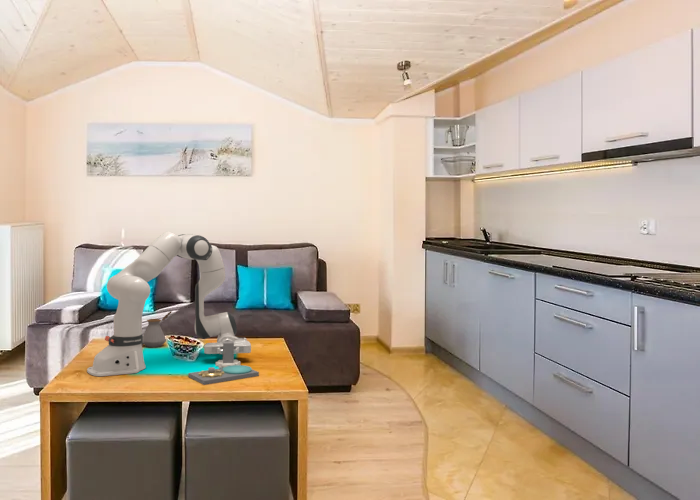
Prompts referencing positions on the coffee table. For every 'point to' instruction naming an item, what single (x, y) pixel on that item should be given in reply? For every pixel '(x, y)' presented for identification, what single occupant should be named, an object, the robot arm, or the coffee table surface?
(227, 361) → the loose gear
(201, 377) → the gear board
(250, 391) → the coffee table surface
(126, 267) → the robot arm
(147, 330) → the coffee pot
